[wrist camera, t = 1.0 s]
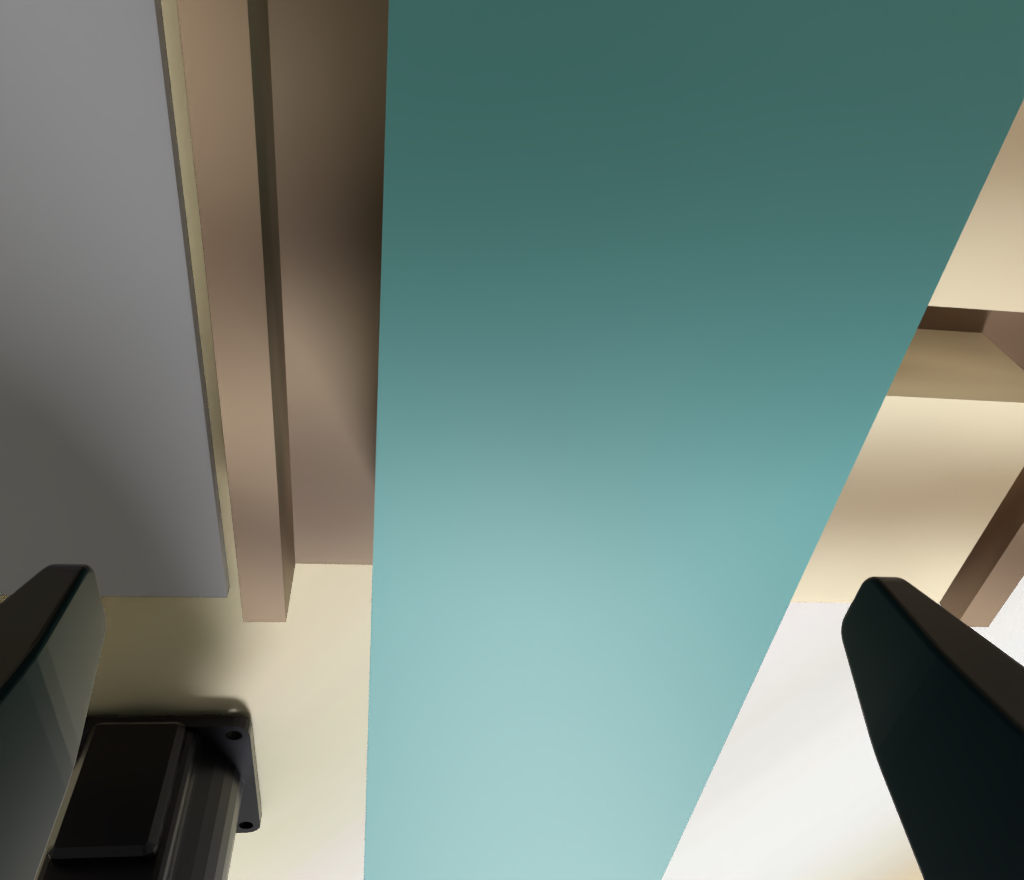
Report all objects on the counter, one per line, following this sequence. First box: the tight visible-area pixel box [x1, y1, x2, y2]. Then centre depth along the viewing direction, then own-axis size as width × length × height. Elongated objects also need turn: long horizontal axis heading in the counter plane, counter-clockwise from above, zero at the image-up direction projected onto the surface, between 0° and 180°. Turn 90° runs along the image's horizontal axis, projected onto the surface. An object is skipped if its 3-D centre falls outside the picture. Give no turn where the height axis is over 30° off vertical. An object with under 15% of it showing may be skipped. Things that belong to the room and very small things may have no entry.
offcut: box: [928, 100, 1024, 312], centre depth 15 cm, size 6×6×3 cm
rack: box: [177, 0, 1024, 627], centre depth 17 cm, size 18×20×3 cm
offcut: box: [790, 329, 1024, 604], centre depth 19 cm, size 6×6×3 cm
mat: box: [0, 0, 229, 598], centre depth 18 cm, size 16×8×1 cm, turn 173°
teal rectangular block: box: [364, 0, 1024, 880], centre depth 12 cm, size 14×3×12 cm, turn 173°
